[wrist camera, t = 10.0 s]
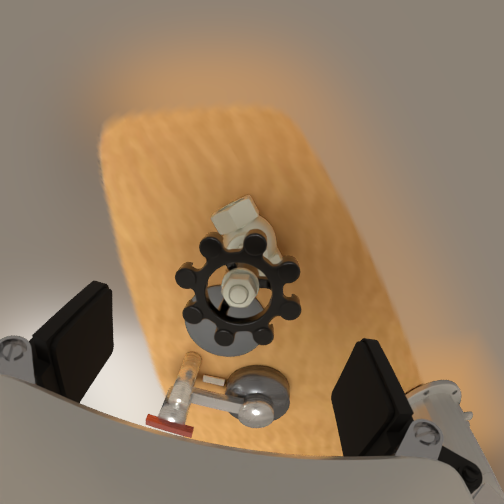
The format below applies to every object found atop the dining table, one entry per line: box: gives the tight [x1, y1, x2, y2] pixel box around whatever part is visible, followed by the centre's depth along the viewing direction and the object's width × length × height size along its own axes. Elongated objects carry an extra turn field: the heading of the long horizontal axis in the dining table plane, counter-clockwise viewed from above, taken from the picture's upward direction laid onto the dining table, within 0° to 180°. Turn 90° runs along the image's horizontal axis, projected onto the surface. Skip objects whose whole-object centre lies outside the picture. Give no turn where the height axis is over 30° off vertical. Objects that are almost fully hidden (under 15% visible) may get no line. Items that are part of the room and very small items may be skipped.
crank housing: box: [168, 352, 290, 421], centre depth 28 cm, size 12×7×7 cm, turn 78°
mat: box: [185, 285, 264, 357], centre depth 29 cm, size 8×8×1 cm
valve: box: [175, 195, 301, 347], centre depth 21 cm, size 7×7×12 cm
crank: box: [146, 386, 274, 438], centre depth 26 cm, size 12×4×6 cm, turn 76°
